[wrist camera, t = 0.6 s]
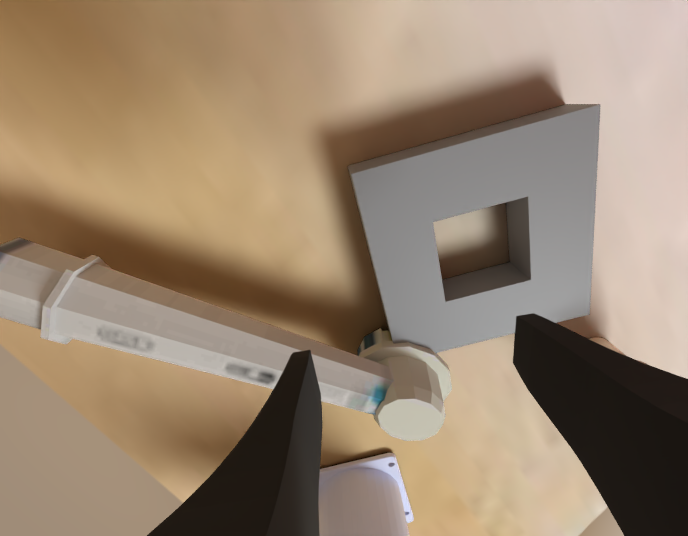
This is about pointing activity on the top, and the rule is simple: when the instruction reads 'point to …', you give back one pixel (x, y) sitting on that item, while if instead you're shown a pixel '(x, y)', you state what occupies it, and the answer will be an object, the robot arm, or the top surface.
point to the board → (474, 194)
